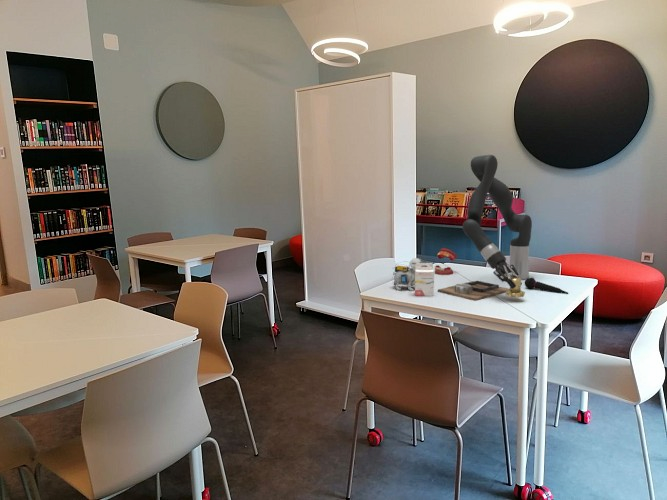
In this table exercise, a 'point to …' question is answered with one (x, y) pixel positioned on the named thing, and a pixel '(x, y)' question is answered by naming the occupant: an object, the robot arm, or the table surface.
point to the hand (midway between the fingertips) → (517, 286)
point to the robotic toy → (406, 274)
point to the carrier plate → (474, 290)
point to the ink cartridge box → (424, 279)
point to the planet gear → (517, 290)
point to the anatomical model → (443, 254)
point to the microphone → (542, 286)
